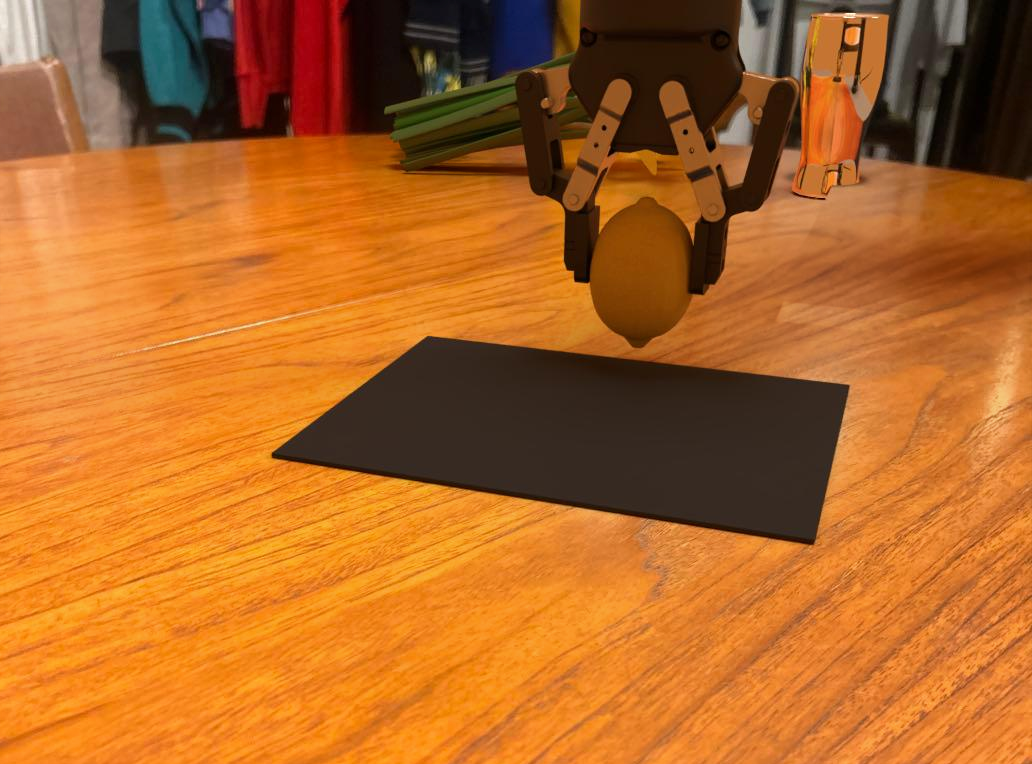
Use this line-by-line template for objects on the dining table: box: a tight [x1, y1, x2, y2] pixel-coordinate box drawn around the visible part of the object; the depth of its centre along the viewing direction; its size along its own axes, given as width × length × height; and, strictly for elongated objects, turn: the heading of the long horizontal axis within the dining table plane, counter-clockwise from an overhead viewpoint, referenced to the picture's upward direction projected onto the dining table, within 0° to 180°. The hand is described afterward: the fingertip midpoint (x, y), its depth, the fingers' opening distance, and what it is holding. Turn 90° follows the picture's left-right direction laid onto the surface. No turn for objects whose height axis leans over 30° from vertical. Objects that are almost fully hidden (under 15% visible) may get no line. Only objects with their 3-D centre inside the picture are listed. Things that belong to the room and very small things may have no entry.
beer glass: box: [791, 12, 890, 198], centre depth 98 cm, size 7×7×15 cm
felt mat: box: [271, 335, 851, 545], centre depth 53 cm, size 24×18×1 cm
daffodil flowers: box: [384, 50, 658, 176], centre depth 108 cm, size 17×15×35 cm
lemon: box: [589, 196, 694, 349], centre depth 57 cm, size 6×6×8 cm
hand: (642, 284), depth 57 cm, fingers closed on lemon, 5 cm apart
